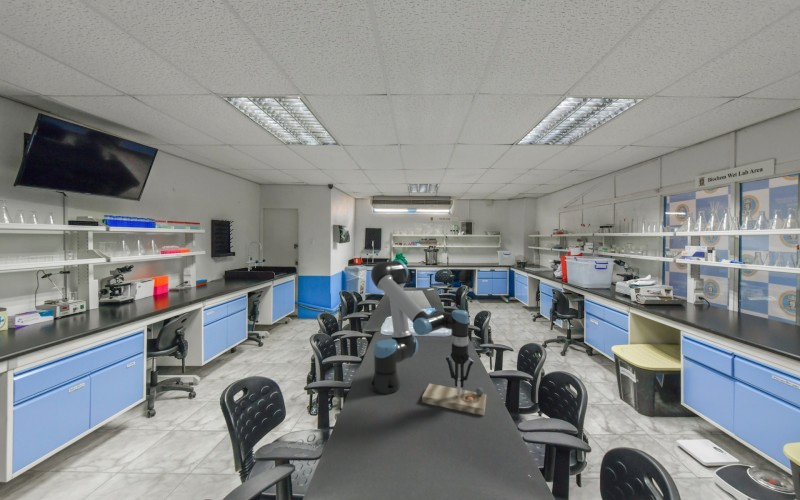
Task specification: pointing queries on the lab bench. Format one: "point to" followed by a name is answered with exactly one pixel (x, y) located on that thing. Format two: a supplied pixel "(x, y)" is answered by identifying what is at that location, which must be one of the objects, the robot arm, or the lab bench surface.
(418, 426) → the lab bench surface
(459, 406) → the board
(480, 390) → the grey ball
